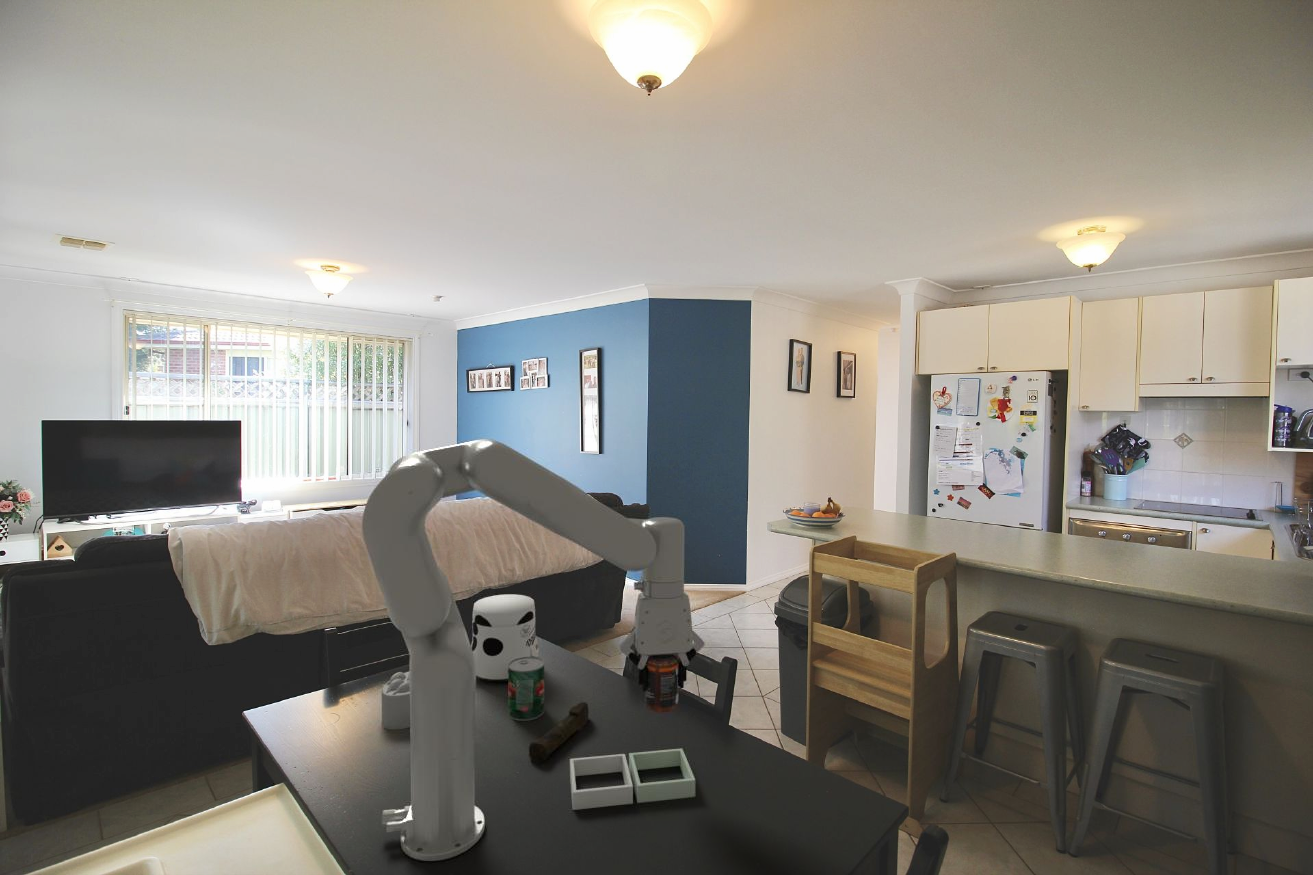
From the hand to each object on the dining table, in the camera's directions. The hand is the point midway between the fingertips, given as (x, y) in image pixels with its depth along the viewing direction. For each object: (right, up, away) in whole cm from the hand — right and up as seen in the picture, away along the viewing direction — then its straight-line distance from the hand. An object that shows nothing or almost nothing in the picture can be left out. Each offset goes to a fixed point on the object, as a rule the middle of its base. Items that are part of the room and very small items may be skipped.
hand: (661, 685), depth 111 cm
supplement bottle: (0, -4, 0) cm, 4 cm away
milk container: (-40, -16, +47) cm, 63 cm away
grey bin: (-11, -18, -1) cm, 21 cm away
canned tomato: (-30, -17, +26) cm, 43 cm away
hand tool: (-20, -17, +15) cm, 31 cm away
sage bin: (0, -18, +1) cm, 18 cm away
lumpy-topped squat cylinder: (-55, -17, +25) cm, 63 cm away
